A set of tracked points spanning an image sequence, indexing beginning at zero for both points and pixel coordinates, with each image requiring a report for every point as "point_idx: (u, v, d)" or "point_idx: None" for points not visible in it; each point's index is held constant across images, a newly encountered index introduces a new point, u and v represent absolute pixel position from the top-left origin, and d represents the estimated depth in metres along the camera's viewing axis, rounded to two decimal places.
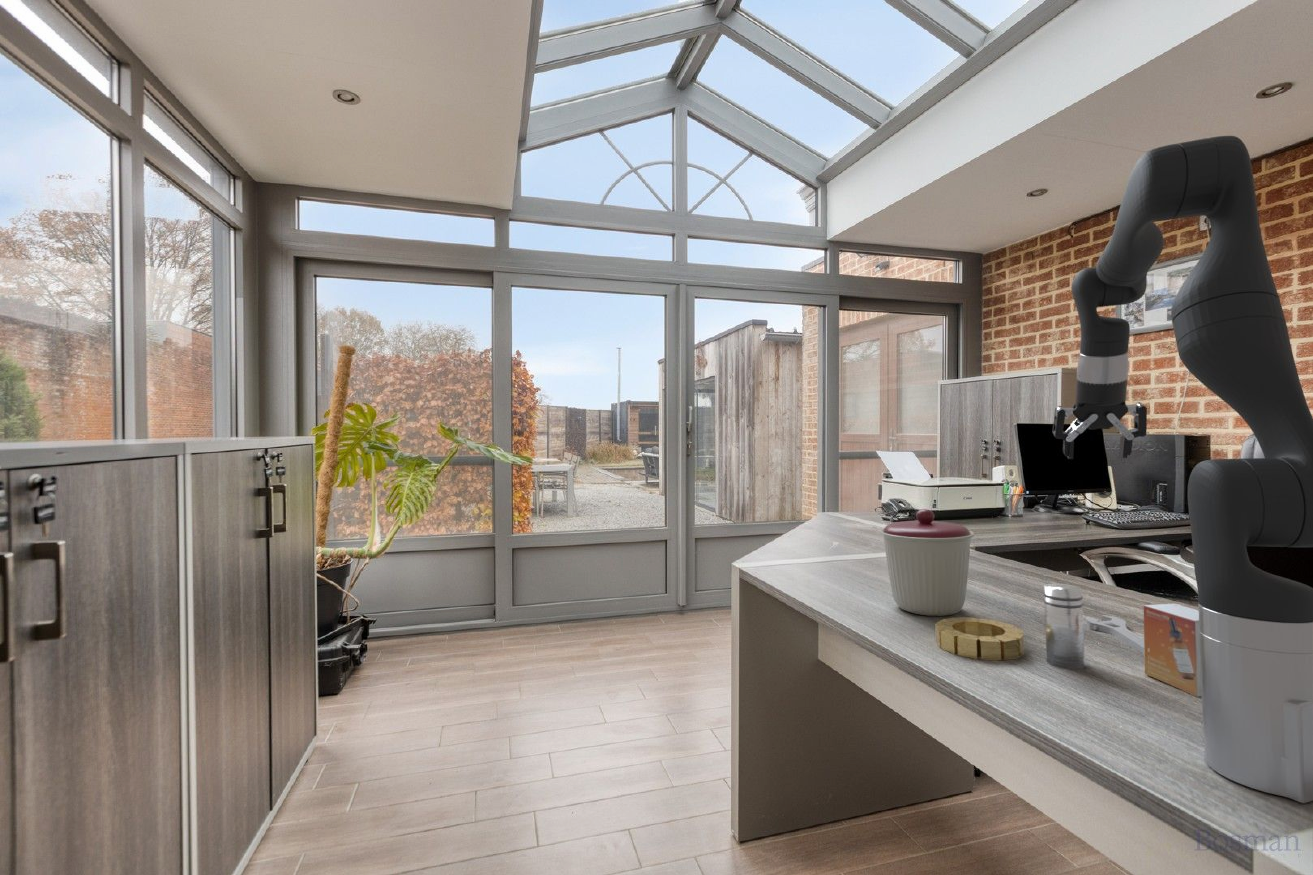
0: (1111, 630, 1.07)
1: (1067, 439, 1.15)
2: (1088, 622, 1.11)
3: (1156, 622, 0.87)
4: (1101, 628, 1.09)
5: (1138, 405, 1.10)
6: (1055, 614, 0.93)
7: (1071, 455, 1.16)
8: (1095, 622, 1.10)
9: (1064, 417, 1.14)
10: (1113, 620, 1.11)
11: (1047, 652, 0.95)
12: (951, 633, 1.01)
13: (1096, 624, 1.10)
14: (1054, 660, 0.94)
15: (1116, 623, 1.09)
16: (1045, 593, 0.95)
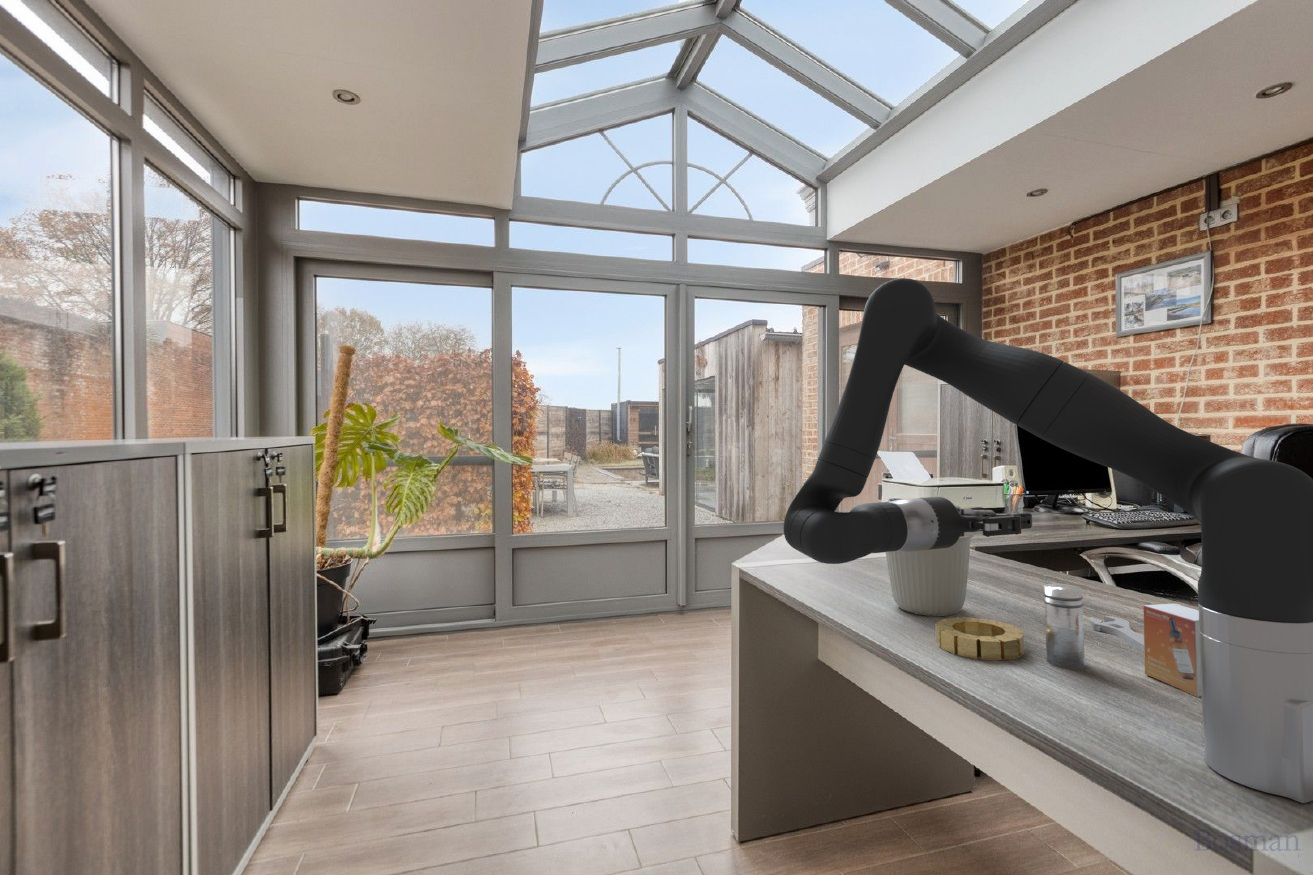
0: (1115, 631, 1.06)
1: (1011, 514, 0.85)
2: (1091, 623, 1.11)
3: (1156, 622, 0.87)
4: (1105, 629, 1.08)
5: None
6: (1055, 614, 0.93)
7: (1024, 513, 0.87)
8: (1099, 623, 1.10)
9: (989, 517, 0.83)
10: (1117, 620, 1.11)
11: (1047, 652, 0.95)
12: (951, 633, 1.01)
13: (1100, 625, 1.09)
14: (1054, 660, 0.94)
15: (1120, 624, 1.09)
16: (1045, 593, 0.95)
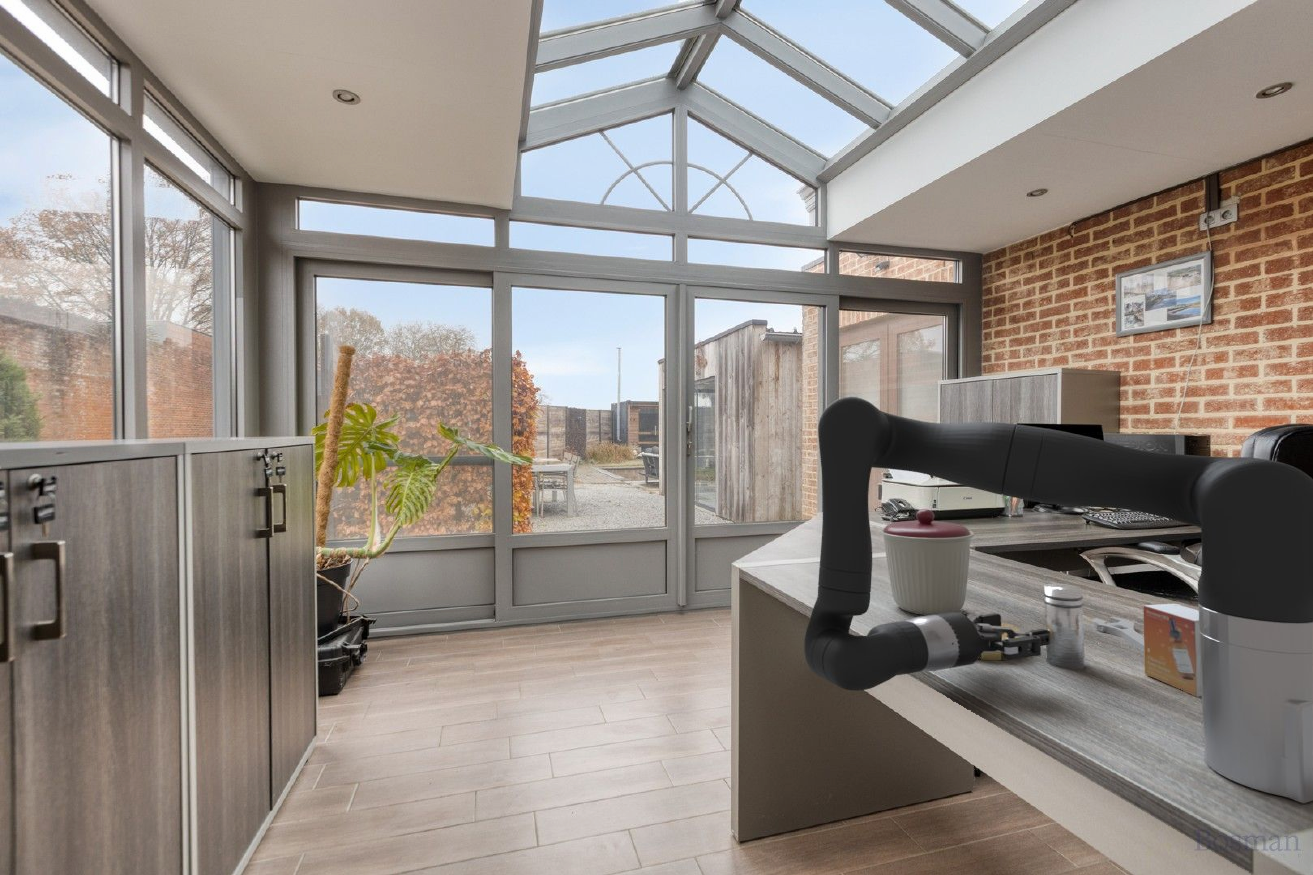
0: (1118, 632, 1.06)
1: (1030, 633, 0.86)
2: (1095, 624, 1.10)
3: (1156, 623, 0.87)
4: (1108, 630, 1.08)
5: None
6: (1055, 614, 0.93)
7: (1042, 629, 0.88)
8: (1102, 624, 1.09)
9: (1009, 638, 0.84)
10: (1122, 622, 1.10)
11: (1047, 652, 0.95)
12: None
13: (1103, 626, 1.09)
14: (1054, 660, 0.94)
15: (1124, 625, 1.08)
16: (1045, 593, 0.95)
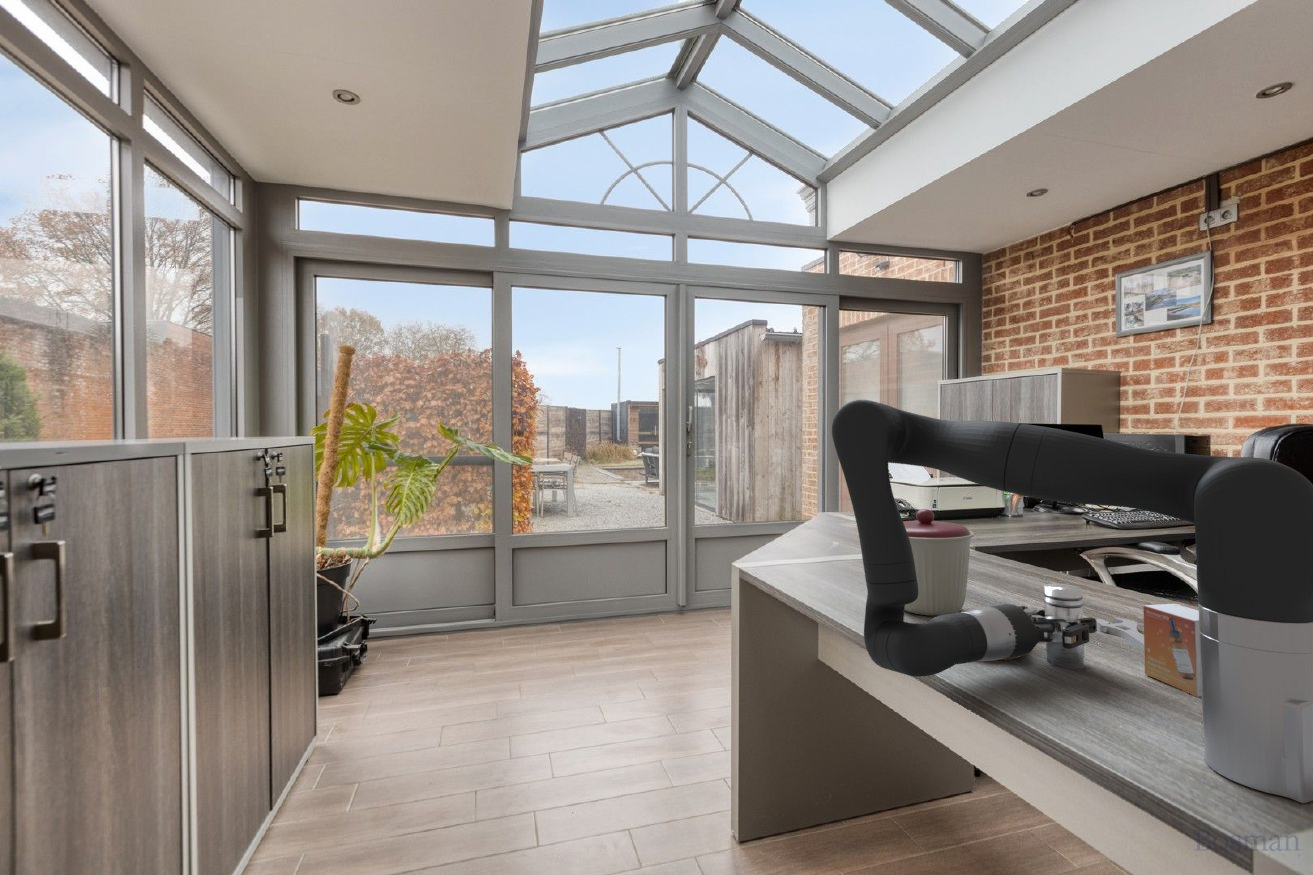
0: (1122, 633, 1.06)
1: (1078, 620, 0.91)
2: (1098, 624, 1.10)
3: (1156, 623, 0.87)
4: (1111, 630, 1.07)
5: None
6: (1055, 614, 0.93)
7: (1089, 617, 0.92)
8: (1105, 624, 1.09)
9: (1066, 628, 0.88)
10: (1125, 622, 1.10)
11: (1047, 652, 0.95)
12: None
13: (1106, 626, 1.08)
14: (1054, 660, 0.94)
15: (1127, 626, 1.08)
16: (1045, 593, 0.95)
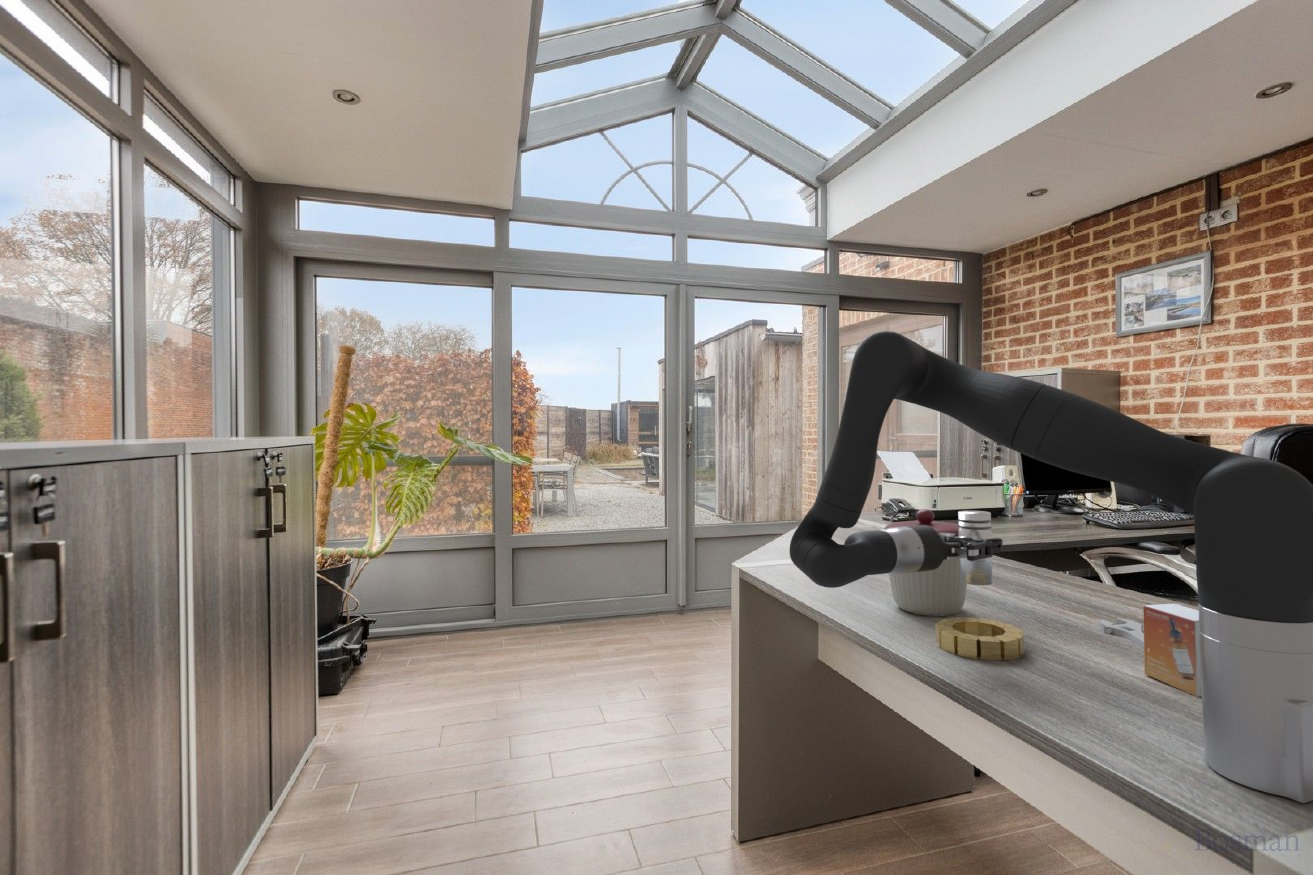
0: (1126, 634, 1.05)
1: (984, 539, 1.00)
2: (1102, 625, 1.09)
3: (1156, 623, 0.87)
4: (1116, 632, 1.07)
5: None
6: None
7: (996, 538, 1.01)
8: (1109, 625, 1.08)
9: (970, 543, 0.96)
10: (1128, 623, 1.09)
11: (960, 572, 1.04)
12: (951, 633, 1.01)
13: (1110, 627, 1.07)
14: (965, 578, 1.02)
15: (1131, 627, 1.07)
16: (958, 518, 1.04)
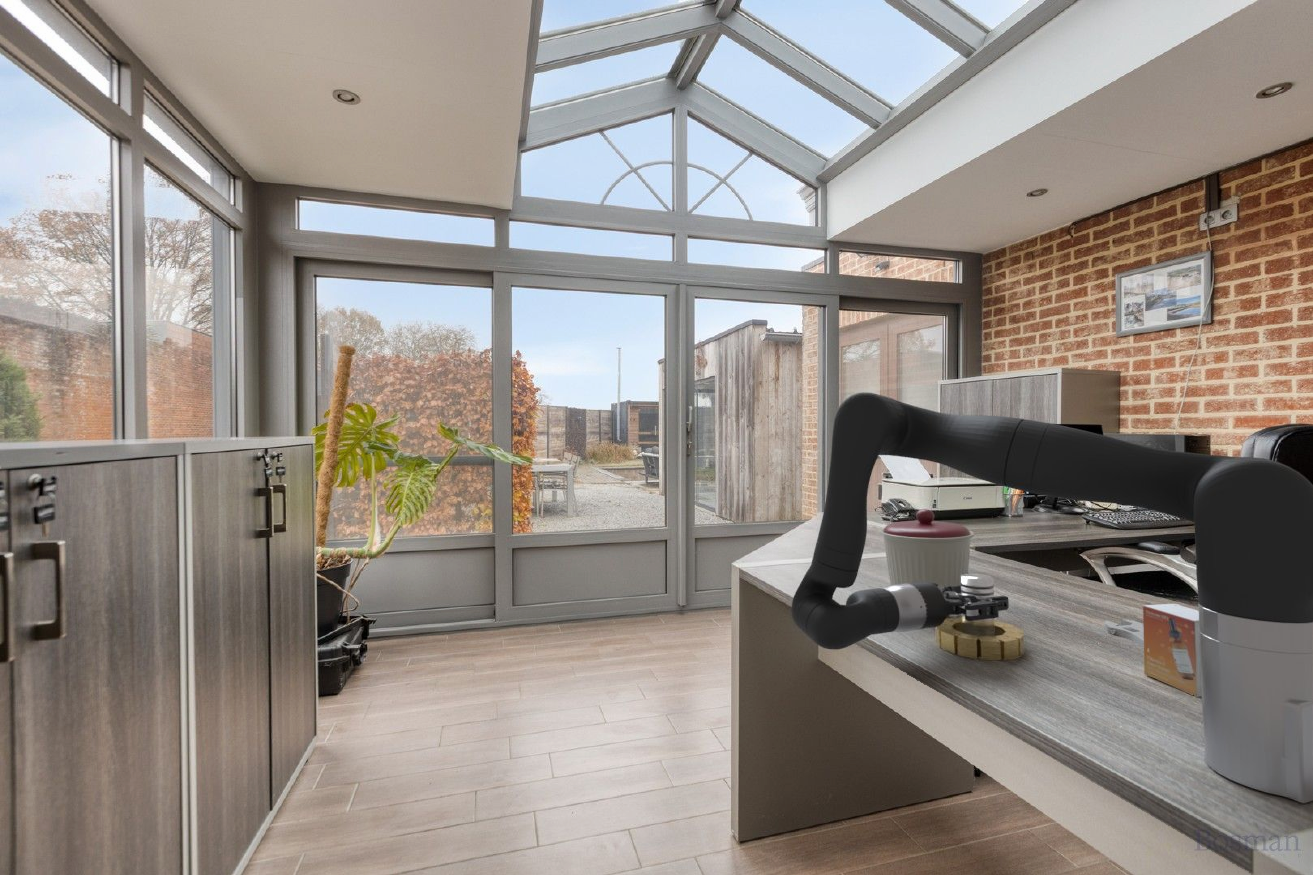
0: (1130, 635, 1.04)
1: (990, 598, 0.98)
2: (1106, 626, 1.09)
3: (1155, 623, 0.87)
4: (1120, 633, 1.06)
5: None
6: (969, 601, 1.02)
7: (1002, 596, 1.00)
8: (1114, 626, 1.08)
9: (971, 603, 0.96)
10: (1133, 624, 1.08)
11: None
12: (951, 633, 1.01)
13: (1114, 628, 1.07)
14: None
15: (1136, 628, 1.07)
16: (961, 582, 1.04)
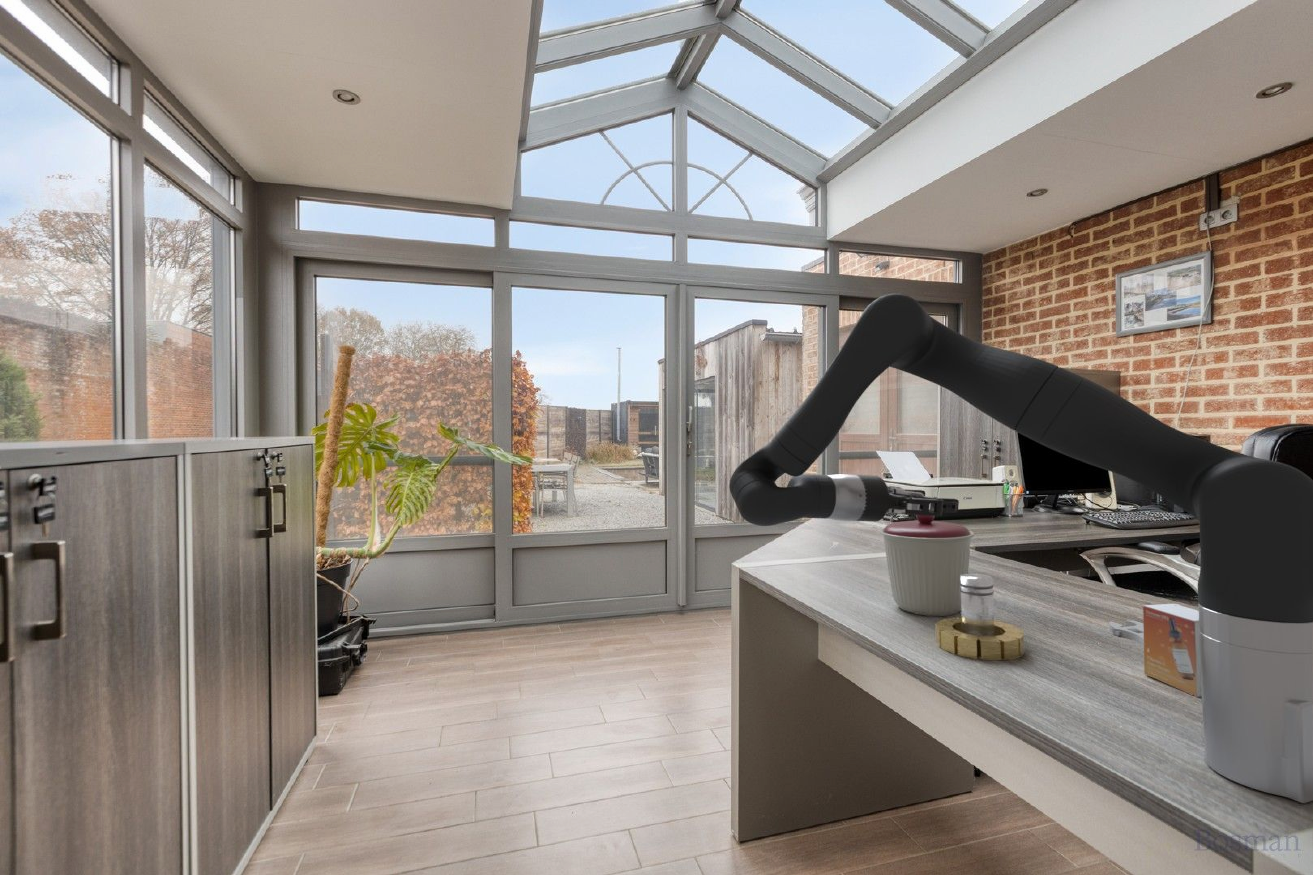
0: (1134, 636, 1.04)
1: (937, 498, 0.94)
2: (1111, 627, 1.08)
3: (1155, 623, 0.87)
4: (1124, 634, 1.05)
5: None
6: (968, 601, 1.02)
7: None
8: (1118, 627, 1.07)
9: (914, 498, 0.93)
10: (1138, 625, 1.08)
11: None
12: (951, 633, 1.01)
13: (1119, 629, 1.06)
14: None
15: (1140, 629, 1.06)
16: (960, 582, 1.04)
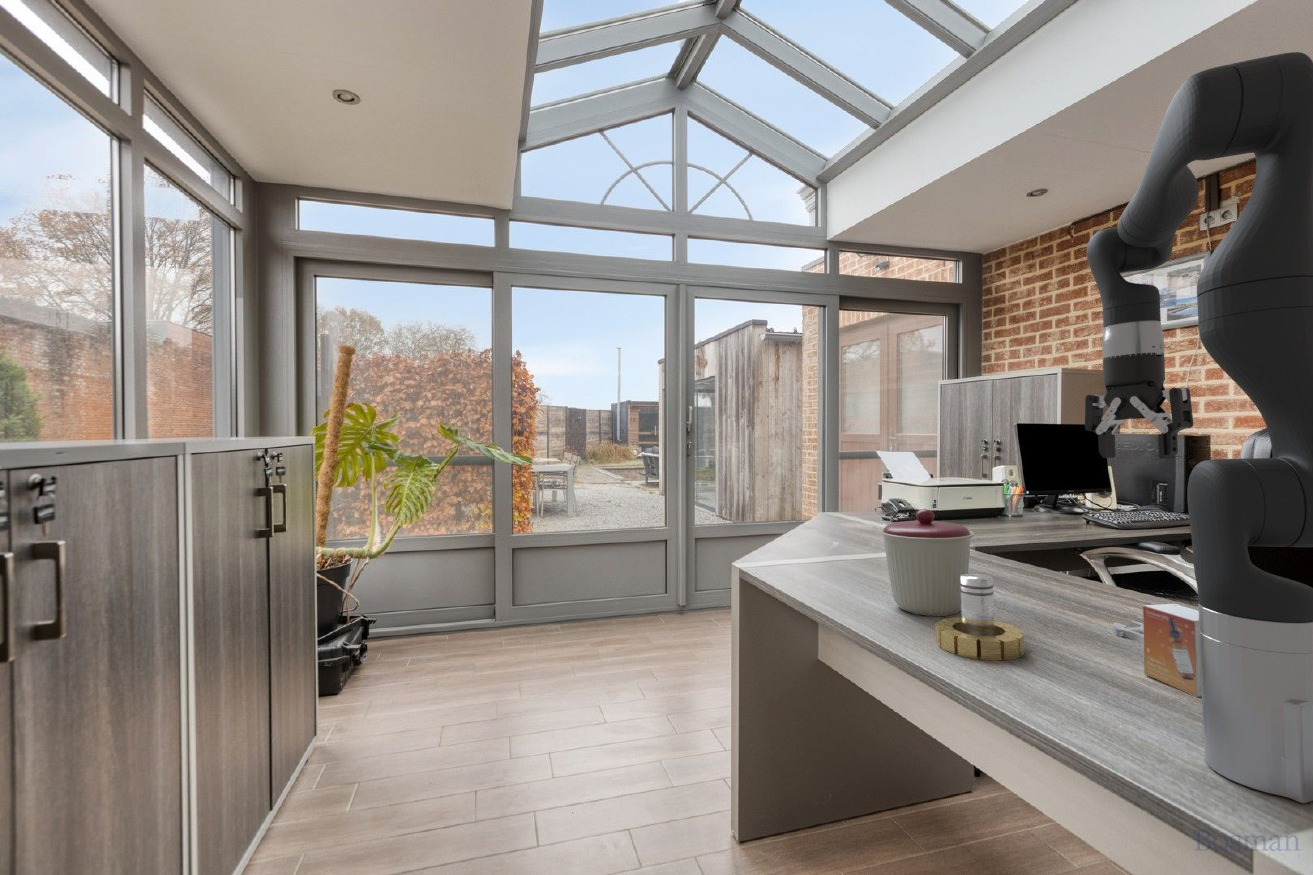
0: (1138, 637, 1.03)
1: (1097, 431, 0.97)
2: (1115, 628, 1.08)
3: (1155, 623, 0.87)
4: (1128, 635, 1.05)
5: None
6: (968, 601, 1.02)
7: (1103, 452, 0.97)
8: (1122, 628, 1.06)
9: (1092, 404, 0.98)
10: None
11: None
12: (951, 633, 1.01)
13: (1123, 630, 1.06)
14: None
15: None
16: (960, 582, 1.04)
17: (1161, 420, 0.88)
